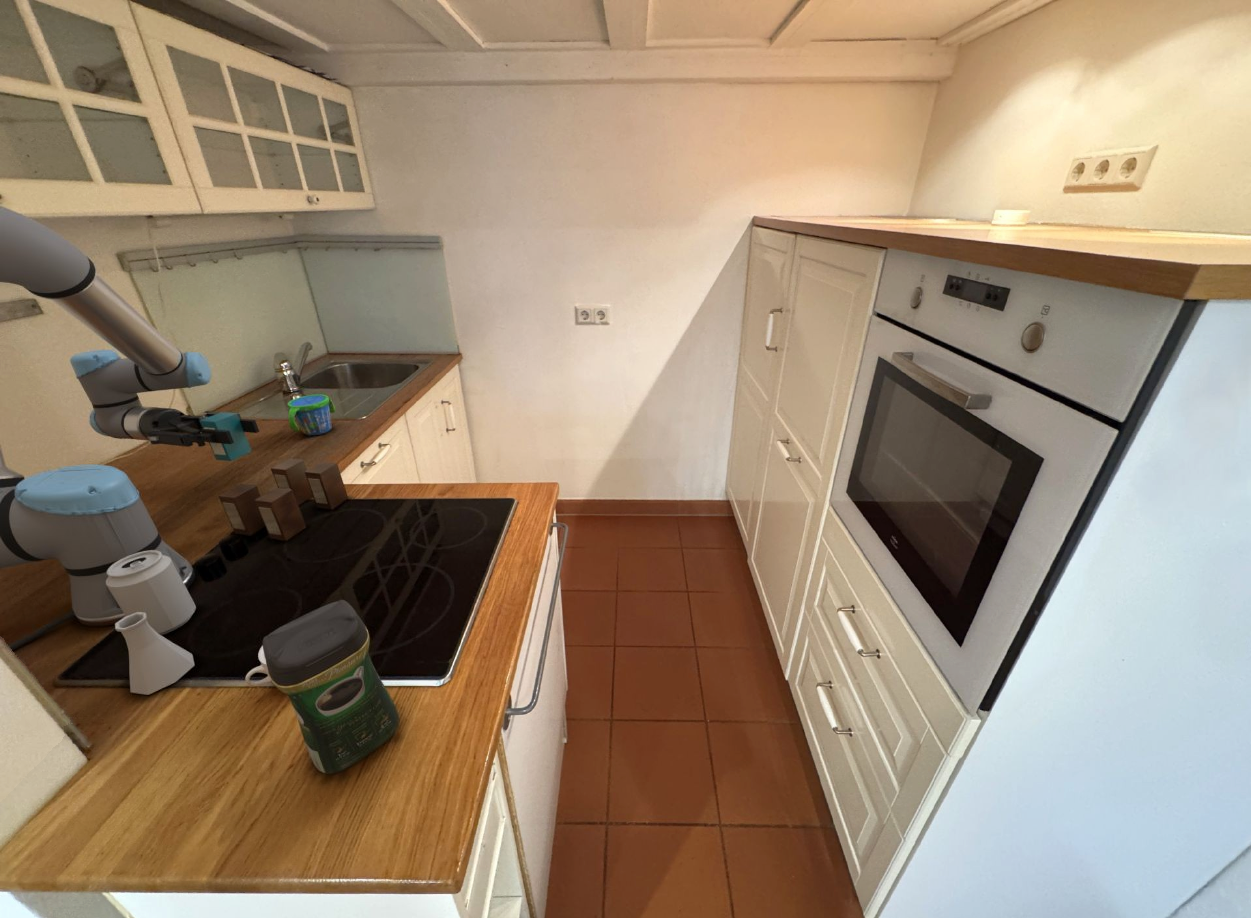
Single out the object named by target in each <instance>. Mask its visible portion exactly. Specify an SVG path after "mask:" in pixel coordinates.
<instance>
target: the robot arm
mask: <svg viewBox="0 0 1251 918" xmlns="http://www.w3.org/2000/svg"><path fill="white" fill-rule="evenodd" d="M0 283H5V284H12V285H17V286H21V287H22V288H24V289H25V290H27V291H28V292H29V293H31V294H32V295H34V296H35V297H39V298H42V299H46V300H51V301H53V302H54V303H55V304H56V305H57V306H59V307H60V308H62V309H63V310H64V311H66V313H68V314H69V315H70V316H72V317H73V318H74V319H76V320H77V321H78V322H80V323H81V324H83V325H84V326H85V327H86V328H88V329H89V330H90V331H91V332H93V333H94V334H96V336H98V337H99V338H101V339H102V340H103V341H104V342H106V343H108V344H109V345H110V346H111V347H113V348H114V349H115V350H116V351H115V350H114V349H95V350H89V351H83V352H80V353H76V354H74V355H72V356H71V357H70V359H69V363H70V365H71V367H72V369H73V372H74V374H75V378H76V379H77V380H78V382H79V384H80V385H81V387H82V389H83V391H84V392H85V394H86V396H87V399H88V400H89V402H90V404H91V406H92V410H91V412H90V413H89V425H90V427H91V428H92V430H94V431H95V432H96V433H97V434H99V435H101V436H104V437H109V438H113V439H117V440H119V439H120V440H122V439H123V440H138V441H149V442H150V444H151V445H168V446H178V447H190V448H191V447H192V446H193V445H194V443H196V444H197V446H198V447H199V448H201V447H205V446H206V445H207V444H206V443H209V442H211V443H222V444H233V443H234V441H233V439H232V436H231V434H230V431H227V430H215V429H203V428H202V426H201V423H200V420H202V419H205V418H208V417H210V416H213V415H216V414H218V413H221V411H219V412H218V411H213V410H206V411H204V413H203V415H190V414H185V413H184V412H183V411H181V410H178V409H176V408H171V407H158V406H145V405H144V406H143V404H142V402H141V400H140V397H139V395H138V394H142V393H150V392H151V393H152V392H157V391H159V392H160V391H169V390H178V389H191V388H195V387H200V386H201V387H202V386H206V385H208V384H209V383H210V381H211V379H212V370H211V367H210V364H209V362H208V360H207V358H206V357H205V356H204V355H203V354H202V353H200V352H196V351H192V352H190V351H185V352H182V351H181V350H180V349H179V348H177V346H175V345H174V344H173V343H172V342H171V340H169V339H167V337H165V336H164V335H163V334H162V332H160V331H159V330H157V328H155V326H153V325H152V323H150V322H149V321H148V320H147V319H146V318H145V317H143V316H142V315H141V313H139V312H138V311H137V310H136V309H135V308H134V307H133V306H132V305H130V304H129V302H127V301H126V300H125V299H124V298H123V297H122V296H121V295H120V294H119V293H117V292H116V291H115V290H114V289H113V288H112V287H111V286H110V285H109V284H108V283H107V282H106V281H105V280H104V279H102V278H101V277H100V276H99V275H98V269H97V267H96V264H95V263H94V262H93V261H92V260H91V259H90V258H89V257H88V256H87V255H86V253H84V252H83V251H82V250H80V248H78V247H77V246H76V245H75V244H74V243H72V242H70V241H69V240H68V239H66V238H65V237H63V236H62V235H60V234H59V233H57V232H55V231H54V230H53V229H51V228H49V227H47V226H46V225H44V224H42V223H40V222H38V221H37V220H34V219H32V218H30V217H28V216H26V215H24V214H22V213H20V212H17V211H15V210H12V209H10V208H7V207H5V206H3V205H0ZM118 352H119V353H120V354H122V355H123V356H124V358H122V357H121V356H120V355H119V353H118ZM237 415H238V418H239V420H240V423H241V425H242V428H243V430H244V433H250V434H251V433H252V434H258V433H260V429H259V427H258V424H257V422H256V419H248V418H247V419H246V418H242V416H241V413H237ZM4 457H5V456H4V454H3V450H2V447H1V445H0V569H4V568H8V567H14V566H20V565H25V564H30V563H31V564H32V563H35V562H42V561H47V560H53V559H57V560H58V561H59V563H60V564H61V566H62V567H63V569H64V570H65V571H66V573H67V575H68V576H69V582H70V583H69V584H70V595H71V607H72V610H71V611H69V612H67V613H65V614H63V615H62V616H59V617H58V618H56V619H54V620H52V621H50V622H49V623H47V624H45V625H44V626H42V627H40V628H38V629H37V630H35V631H33V632H31V633H30V634H27V635H26V636H24V637H22V638H20V639H18V640H16V641H14V642H12V643H10V644H8V645H7V646H10V648H11V649H12V651H11V652H13V651H15V650H16V649H19V648H20V647H22V646H25V645H26V644H28V643H30V642H32V641H33V640H35V639H37V638H39V637H41V636H42V635H44V634H46V633H48V632H49V631H51V630H53V629H54V628H57V627H58V626H60V625H62V624H63V623H65V622H67V621H69V620H70V619H74V617H76V618H77V620H78V622H79V623H81V624H82V625H85V626H88V627H105V626H111V625H112V626H113V625H115V623H117V622H118V621H120V620H121V619H123V618H124V617H126V616H125V614H124V613H123V611H122V609H121V608H120V606H119V604H118V603H117V601H116V600H115V598H114V596H113V595H112V593H111V592H110V590H109V588H108V587H107V585H106V580H107V578H108V576H109V575H107V570H108V569H109V567H110V566H112V565H113V564H114V563H115V562H117V561H119V560H121V559H123V558H125V557H127V556H129V555H132V554H135V553H139V552H143V551H150V550H155V551H159V552H161V553H162V555H164V556H168V557H170V558H171V560H172V562H173V564H174V566H175V568H176V570H177V572H178V573H179V575H180V577H181V579H182V581H183V583H184V585H185V587H186V588H187V590H188V589H189V588H190V587H191V585H192V584H193V582H194V581H195V579H196V572H195V570H194V568H193V566H192V564H191V563H190V562H189V561H188V560H187V559H186V558H185V557H183V556H182V555H181V554H180V553H178V552H177V550H174V548H172V547H171V546H170V545H169V544H167V543H166V542H165V541H164V540H163V538H162V537H161V535H160V532H159V531H158V529H157V526H156V524H155V523H154V521H153V519H152V517H151V516H150V513H149V512H148V509H147V508H146V506H145V504H144V502H143V500H142V498H141V496H140V491H139V489H138V488H137V487H136V486H135V485H134V484H133V482H132V480H131V479H130V478H129V476H128V475H127V474H126V473H125V471H123V470H121V469H119V468H117V467H114V466H112V465H105V464H78V465H70V466H62V467H59V468H57V469H53V470H52V469H51V470H50V469H49V470H45V471H41V472H38V473H35V474H32V475H30V476H27V477H26V478H25V475H24V474H21V473H19V472H18V471H15V470H13V469H10V468H9V467H7V465H6V462H5V458H4Z"/></svg>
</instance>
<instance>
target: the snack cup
mask: <svg viewBox="0 0 1251 918" xmlns="http://www.w3.org/2000/svg"><path fill="white" fill-rule="evenodd" d="M287 408H288V409H289V410H288V417H287V418H288V426H289V428H290V430H292V431H294V432H298V431H300V430H301V431H302V433H303V434H304V435H306V436H307V437H311V436H320V435H325V434H327V433H328V432H330V431H331V430H332V428H333V427H332V419H331V418H332V417H331V414H335V412H336V407H335V404H334V403H333V401H332V399H331V398H330V396H328V395H326V394H309V395H303V396H299V397H296V398H294V399H292V400H289V401H288V402H287ZM295 420H296V421H295ZM296 422H297V423H296ZM297 424H298V425H297ZM299 427H300V428H299Z"/></svg>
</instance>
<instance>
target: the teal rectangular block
mask: <svg viewBox="0 0 1251 918" xmlns="http://www.w3.org/2000/svg"><path fill="white" fill-rule="evenodd" d="M237 414H238V413H237V412H226V411H225V412H224V411H222V412H221V411H220V413H218V414H216V415H213V416H210V417H208V418H205V419H202V420H200V423H201V426H202V428H203V429H215V430H227V431H230V434H231V436H232V439H233V441H234V443H233V444H222V443H211V442H208V444H209V446H210V449H211V451H212V453H213V456H214V458H215V460H216V461H225V462H233V461H234V460H237V459H239V458H242V457H244V456H245V455H248V454H249V453H251V452H252V449H251V446H250V443H249V440H248V438H247V435H246V432H244V430H243V428H242V425H241V423H240V420H239V418H238V415H237Z"/></svg>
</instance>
